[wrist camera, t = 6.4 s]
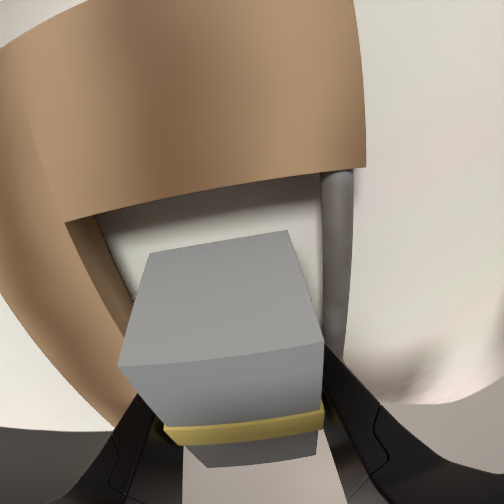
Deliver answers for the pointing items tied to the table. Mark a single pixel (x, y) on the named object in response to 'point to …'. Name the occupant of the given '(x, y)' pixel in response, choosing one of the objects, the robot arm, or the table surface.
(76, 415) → the table surface
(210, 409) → the grey banded block
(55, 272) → the brown wooden flat frame
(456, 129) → the table surface
